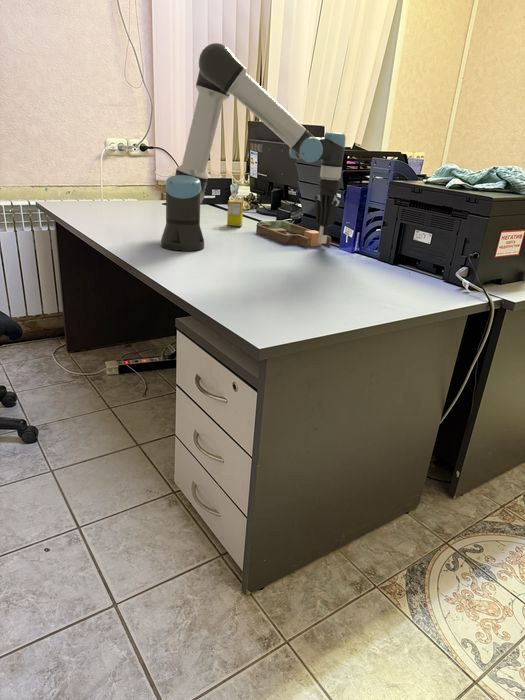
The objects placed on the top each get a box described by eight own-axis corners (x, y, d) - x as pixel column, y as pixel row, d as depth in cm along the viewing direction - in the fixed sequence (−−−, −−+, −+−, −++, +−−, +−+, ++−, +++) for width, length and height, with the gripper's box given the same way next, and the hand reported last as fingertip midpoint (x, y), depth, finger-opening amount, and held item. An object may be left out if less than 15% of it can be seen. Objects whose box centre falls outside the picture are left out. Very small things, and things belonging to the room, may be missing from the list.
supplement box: (242, 225, 223) (243, 200, 219) (240, 228, 218) (241, 202, 213) (229, 224, 224) (230, 199, 219) (226, 226, 218) (228, 200, 214)
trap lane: (294, 248, 189) (295, 238, 188) (248, 229, 215) (248, 221, 214) (330, 245, 198) (331, 236, 196) (281, 228, 224) (282, 220, 222)
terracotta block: (310, 246, 195) (312, 233, 193) (303, 243, 198) (304, 230, 196) (320, 245, 197) (322, 232, 195) (313, 242, 201) (314, 230, 199)
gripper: (349, 181, 180) (340, 246, 189) (327, 176, 190) (319, 238, 199) (333, 180, 176) (324, 247, 186) (311, 176, 186) (304, 239, 195)
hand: (322, 243), depth 192 cm, fingers closed
